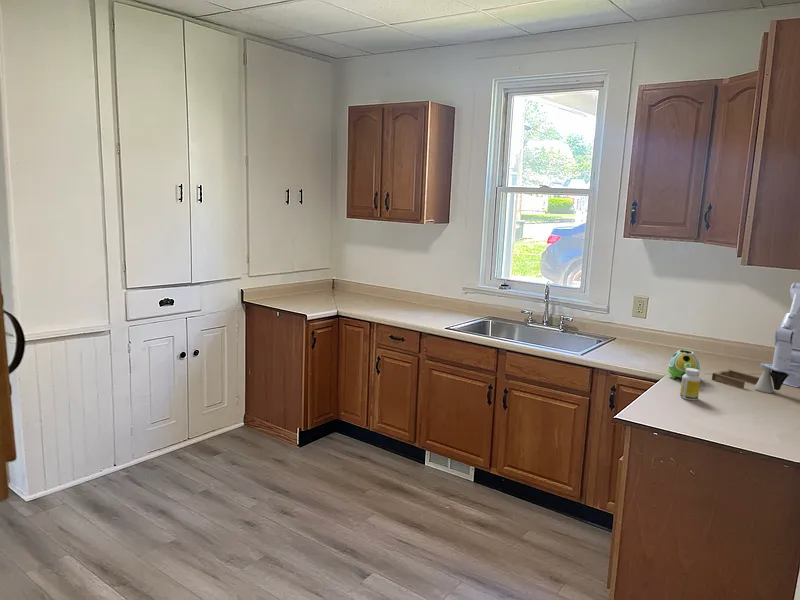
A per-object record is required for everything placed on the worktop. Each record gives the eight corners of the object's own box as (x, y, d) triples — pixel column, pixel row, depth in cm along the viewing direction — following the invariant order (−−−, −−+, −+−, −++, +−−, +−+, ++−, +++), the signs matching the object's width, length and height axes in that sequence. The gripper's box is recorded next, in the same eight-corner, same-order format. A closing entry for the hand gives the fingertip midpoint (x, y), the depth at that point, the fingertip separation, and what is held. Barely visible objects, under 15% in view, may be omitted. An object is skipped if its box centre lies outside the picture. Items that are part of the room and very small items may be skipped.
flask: (755, 386, 250) (758, 363, 249) (775, 390, 246) (778, 367, 244) (752, 390, 245) (755, 367, 243) (772, 394, 240) (776, 371, 239)
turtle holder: (670, 383, 249) (674, 356, 247) (665, 371, 266) (668, 346, 264) (703, 387, 246) (706, 360, 244) (695, 375, 263) (699, 349, 261)
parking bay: (728, 375, 264) (729, 369, 264) (758, 384, 253) (759, 377, 253) (711, 379, 257) (712, 373, 257) (742, 388, 246) (743, 381, 246)
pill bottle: (701, 400, 229) (705, 372, 227) (686, 401, 228) (690, 372, 226) (690, 395, 236) (694, 367, 234) (676, 395, 235) (679, 367, 232)
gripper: (758, 354, 242) (753, 385, 245) (796, 363, 230) (791, 396, 233) (767, 352, 246) (762, 383, 249) (805, 361, 234) (799, 393, 237)
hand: (776, 389), depth 241 cm, fingers closed
